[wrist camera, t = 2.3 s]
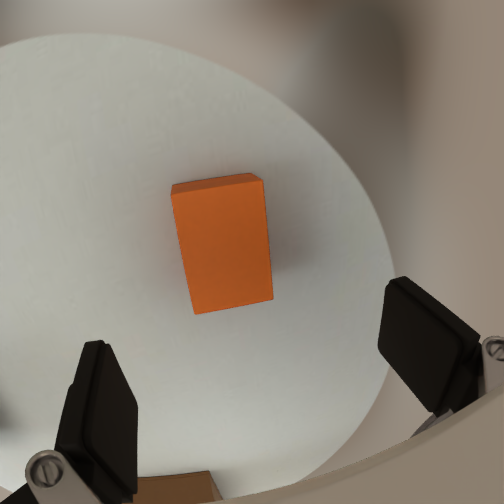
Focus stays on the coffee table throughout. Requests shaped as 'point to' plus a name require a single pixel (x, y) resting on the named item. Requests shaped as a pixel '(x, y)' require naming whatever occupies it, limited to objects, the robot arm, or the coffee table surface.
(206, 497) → the carton
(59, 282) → the coffee table surface
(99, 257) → the coffee table surface
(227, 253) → the block
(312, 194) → the coffee table surface
